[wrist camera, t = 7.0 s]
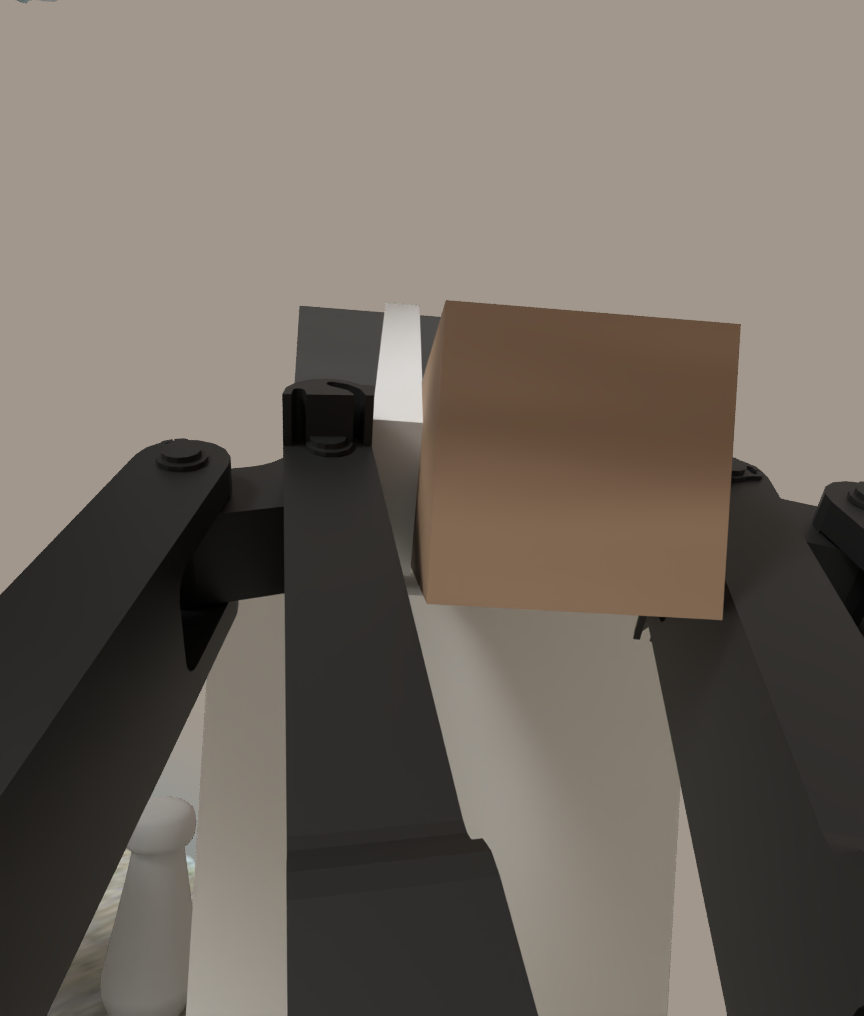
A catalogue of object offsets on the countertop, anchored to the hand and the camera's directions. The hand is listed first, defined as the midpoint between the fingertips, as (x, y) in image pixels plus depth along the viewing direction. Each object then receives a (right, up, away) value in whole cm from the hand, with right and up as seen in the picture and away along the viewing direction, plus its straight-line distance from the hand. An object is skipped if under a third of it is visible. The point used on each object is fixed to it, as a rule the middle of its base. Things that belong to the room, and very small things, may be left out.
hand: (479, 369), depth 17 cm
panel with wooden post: (0, -4, -1) cm, 4 cm away
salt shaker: (-19, -35, +29) cm, 49 cm away
